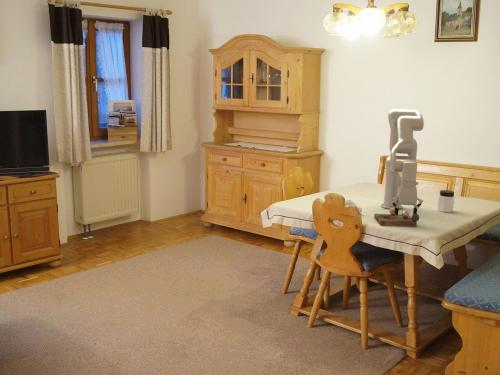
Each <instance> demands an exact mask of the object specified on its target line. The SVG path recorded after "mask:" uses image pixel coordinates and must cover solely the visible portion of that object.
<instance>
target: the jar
mask: <svg viewBox="0 0 500 375" xmlns="http://www.w3.org/2000/svg"><path fill="white" fill-rule="evenodd" d="M437 200H438V201H437V211H438V212H441V213H449V212H451V213H452V212H454V203H455V191H453V190H449V189H448V190H447V189H442V190H439V195H438V199H437Z"/></svg>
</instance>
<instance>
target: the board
mask: <svg viewBox="0 0 500 375" xmlns="http://www.w3.org/2000/svg"><path fill="white" fill-rule="evenodd" d="M373 215H374V216H373V219H374V218H375V219H376V220H375V219H374V220H375V221H376V222H377V223H378V224H379V225H380V226H389V227H390V226H391V227H415V228H417V224H418V221H413V220H412V216H411V215H409V217H408V218H403V217H402V214H399V213H398V215H396V214H395V215H391V214H390V213H374V214H373Z"/></svg>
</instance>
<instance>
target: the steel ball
mask: <svg viewBox="0 0 500 375" xmlns="http://www.w3.org/2000/svg"><path fill="white" fill-rule="evenodd" d="M401 215H402V217H403V218H408V217H409V216H410V212H409V211H407V210H404V211H402V212H401Z"/></svg>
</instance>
